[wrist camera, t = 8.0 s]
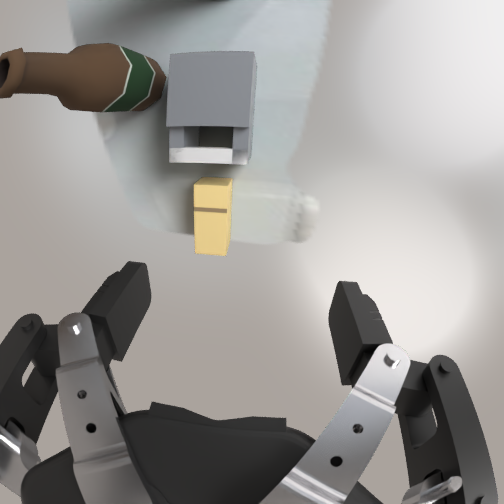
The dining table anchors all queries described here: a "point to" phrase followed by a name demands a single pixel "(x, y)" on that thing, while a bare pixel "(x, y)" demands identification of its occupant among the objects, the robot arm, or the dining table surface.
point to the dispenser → (211, 104)
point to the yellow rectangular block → (212, 215)
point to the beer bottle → (85, 77)
